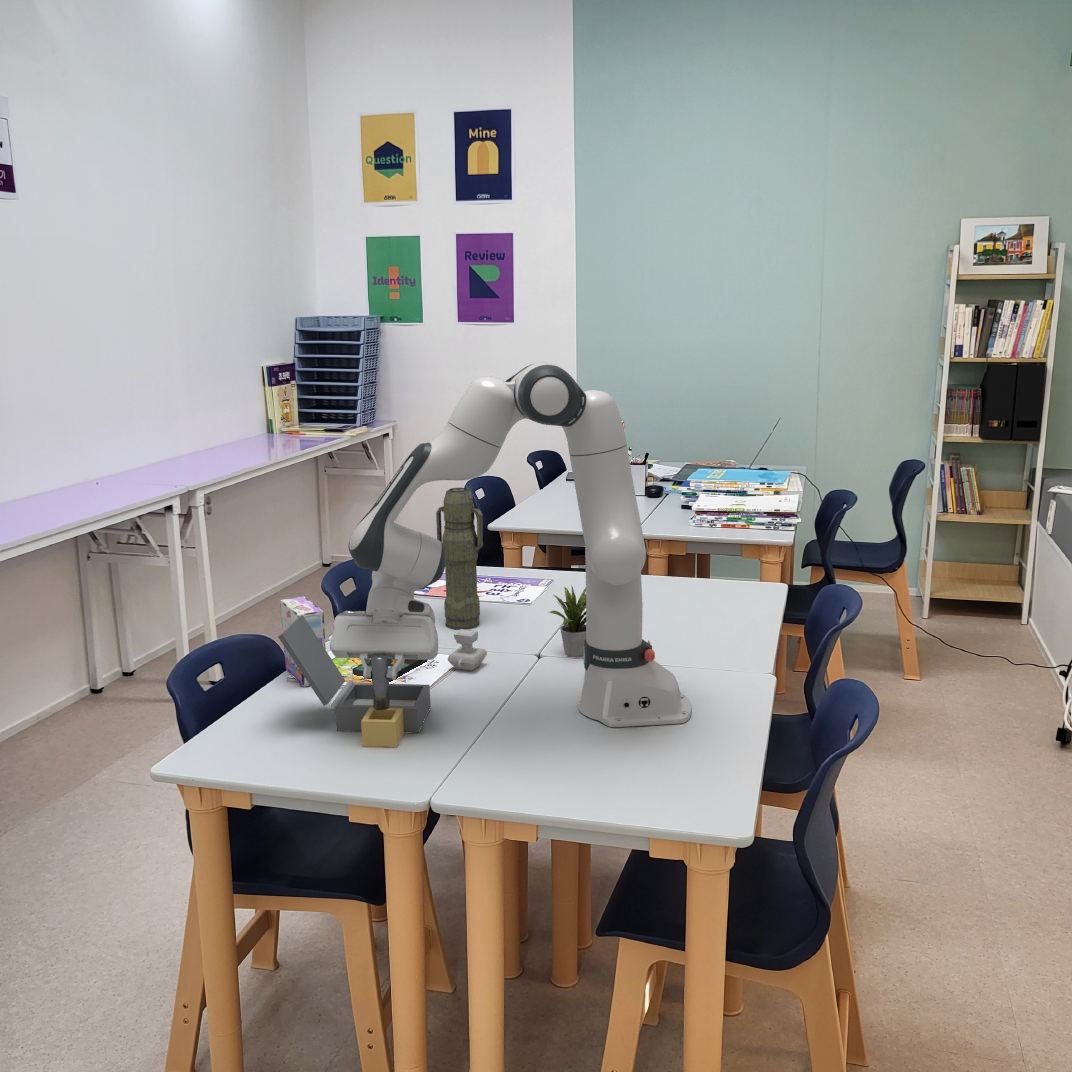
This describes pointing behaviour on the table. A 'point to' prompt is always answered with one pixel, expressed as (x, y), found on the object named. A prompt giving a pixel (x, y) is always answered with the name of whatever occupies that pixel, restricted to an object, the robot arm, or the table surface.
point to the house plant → (573, 623)
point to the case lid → (312, 659)
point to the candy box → (314, 618)
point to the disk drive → (407, 666)
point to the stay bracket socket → (382, 727)
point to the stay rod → (380, 681)
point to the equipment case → (360, 699)
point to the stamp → (467, 651)
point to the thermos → (460, 557)
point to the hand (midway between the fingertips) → (379, 678)
